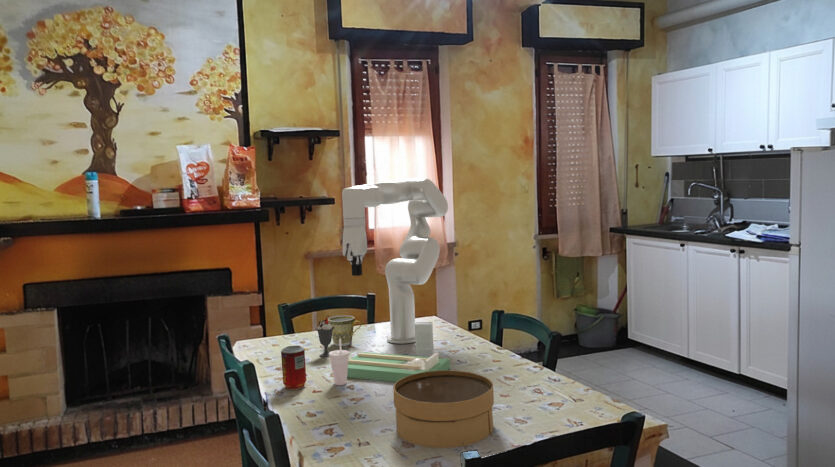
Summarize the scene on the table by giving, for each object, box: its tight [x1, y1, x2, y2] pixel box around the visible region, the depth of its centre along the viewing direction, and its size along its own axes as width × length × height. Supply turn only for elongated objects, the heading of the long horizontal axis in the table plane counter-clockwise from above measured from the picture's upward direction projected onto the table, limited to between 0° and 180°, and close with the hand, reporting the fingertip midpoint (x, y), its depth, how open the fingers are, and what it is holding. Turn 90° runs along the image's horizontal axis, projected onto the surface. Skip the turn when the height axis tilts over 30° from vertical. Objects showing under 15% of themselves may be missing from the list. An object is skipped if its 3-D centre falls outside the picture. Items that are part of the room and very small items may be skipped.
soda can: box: [280, 345, 307, 391], centre depth 196 cm, size 7×7×12 cm
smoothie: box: [328, 339, 351, 386], centre depth 197 cm, size 6×6×14 cm
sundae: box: [315, 314, 335, 358], centre depth 229 cm, size 7×7×15 cm
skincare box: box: [414, 321, 435, 357], centre depth 223 cm, size 6×4×12 cm
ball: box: [410, 359, 425, 367], centre depth 204 cm, size 5×5×5 cm
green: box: [347, 351, 451, 383], centre depth 207 cm, size 18×32×6 cm, turn 67°
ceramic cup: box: [327, 315, 362, 347], centre depth 245 cm, size 13×10×10 cm
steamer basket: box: [392, 370, 495, 449], centre depth 159 cm, size 25×25×11 cm
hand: (357, 275), depth 224 cm, fingers closed
